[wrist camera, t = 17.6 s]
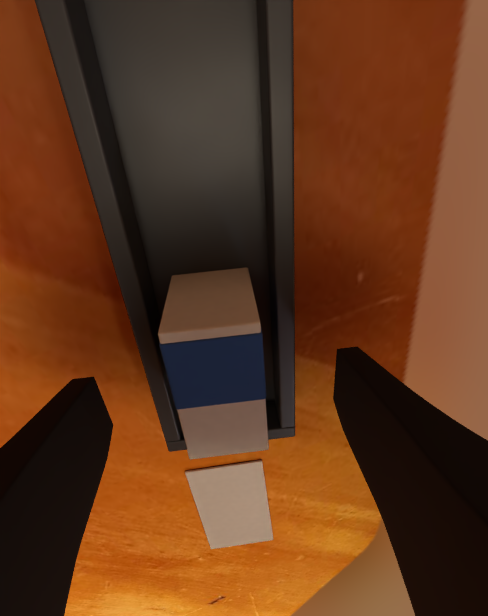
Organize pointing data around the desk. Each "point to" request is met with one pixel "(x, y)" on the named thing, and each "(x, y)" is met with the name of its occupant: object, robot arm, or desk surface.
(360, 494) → the desk surface
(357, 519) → the desk surface
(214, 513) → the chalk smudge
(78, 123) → the tray
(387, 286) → the desk surface
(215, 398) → the eraser
